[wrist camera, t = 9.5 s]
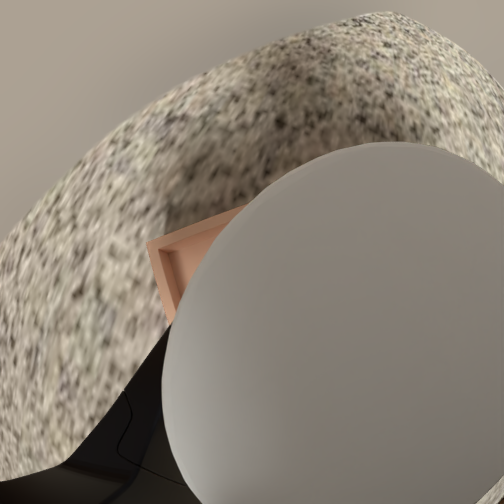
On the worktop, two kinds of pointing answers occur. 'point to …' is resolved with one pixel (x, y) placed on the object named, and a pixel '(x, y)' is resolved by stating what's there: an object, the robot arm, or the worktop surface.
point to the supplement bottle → (347, 337)
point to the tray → (183, 256)
